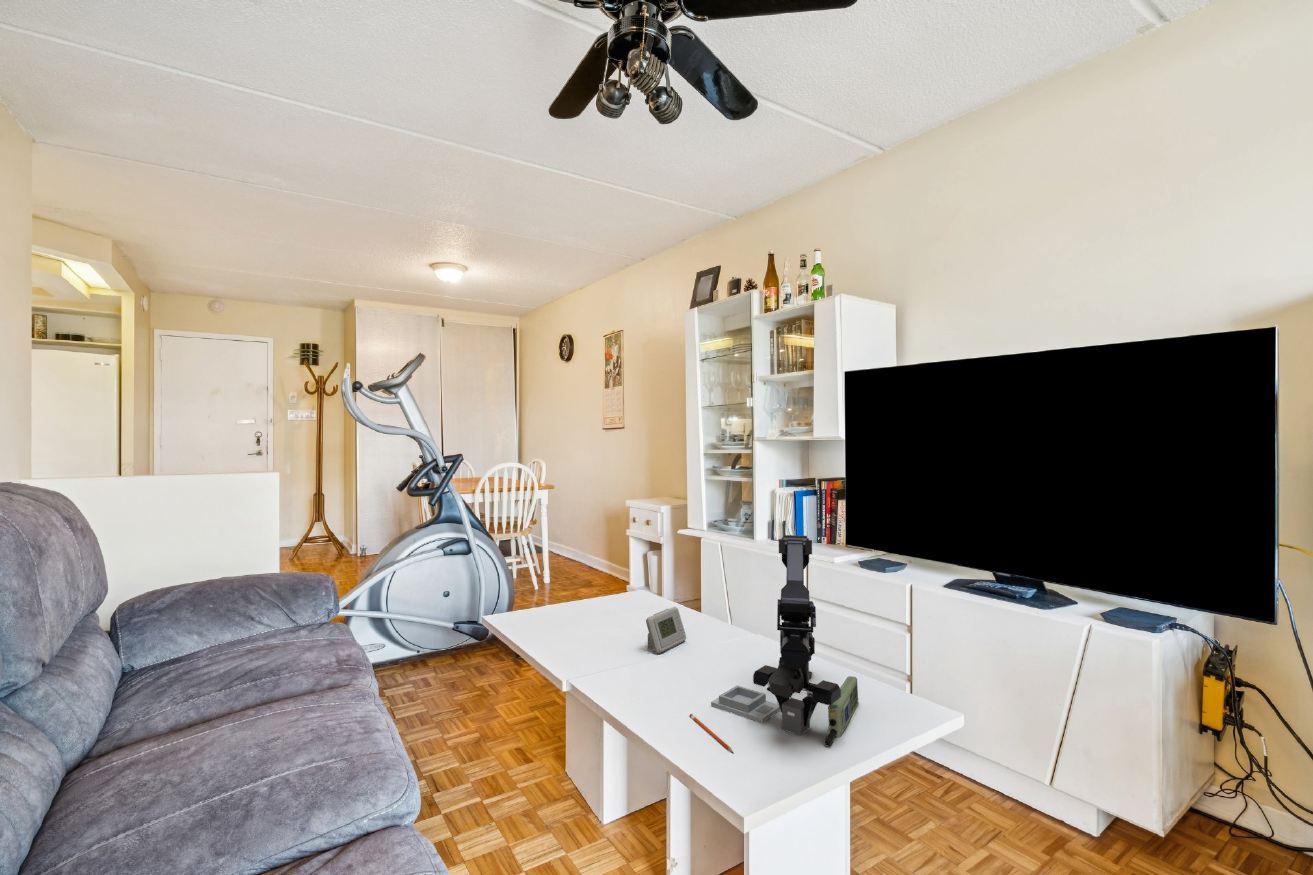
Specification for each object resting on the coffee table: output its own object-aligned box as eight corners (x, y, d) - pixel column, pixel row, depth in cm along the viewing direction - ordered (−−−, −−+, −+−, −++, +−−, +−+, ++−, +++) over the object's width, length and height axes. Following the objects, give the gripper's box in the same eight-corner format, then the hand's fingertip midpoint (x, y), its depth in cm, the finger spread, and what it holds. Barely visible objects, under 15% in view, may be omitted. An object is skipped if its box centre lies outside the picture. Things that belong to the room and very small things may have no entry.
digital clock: (657, 656, 180) (656, 620, 180) (636, 649, 186) (636, 614, 186) (694, 643, 191) (694, 609, 191) (673, 637, 197) (673, 604, 197)
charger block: (791, 721, 137) (791, 697, 137) (809, 727, 134) (809, 702, 134) (781, 729, 134) (781, 704, 134) (800, 735, 131) (800, 709, 131)
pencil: (692, 717, 141) (692, 713, 141) (735, 755, 123) (735, 750, 123) (689, 717, 140) (689, 714, 140) (732, 756, 123) (732, 751, 123)
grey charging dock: (731, 693, 153) (731, 682, 153) (781, 709, 144) (781, 697, 144) (711, 705, 146) (711, 694, 146) (762, 723, 137) (762, 710, 137)
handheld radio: (860, 705, 146) (836, 751, 125) (846, 702, 148) (820, 747, 126) (859, 677, 147) (834, 718, 125) (845, 675, 148) (818, 715, 126)
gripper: (739, 652, 134) (740, 723, 134) (819, 672, 122) (819, 750, 122) (765, 639, 143) (765, 706, 142) (841, 657, 131) (842, 730, 131)
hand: (795, 722), depth 134 cm, fingers closed on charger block, 4 cm apart
